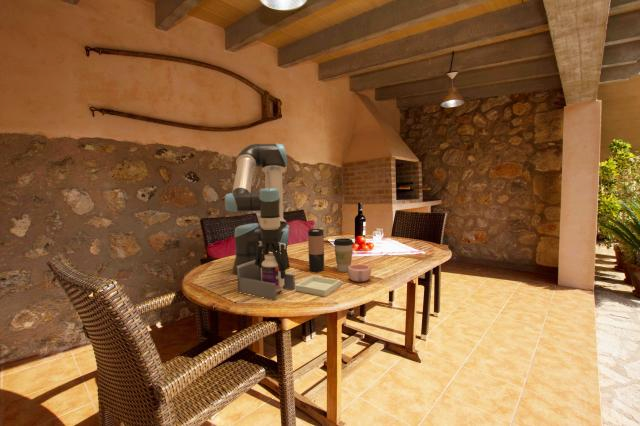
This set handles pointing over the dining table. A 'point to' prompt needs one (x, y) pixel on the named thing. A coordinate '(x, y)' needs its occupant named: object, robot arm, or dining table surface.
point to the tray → (318, 286)
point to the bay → (259, 281)
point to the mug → (359, 272)
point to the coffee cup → (343, 253)
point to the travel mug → (316, 250)
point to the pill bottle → (270, 270)
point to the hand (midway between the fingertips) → (272, 284)
